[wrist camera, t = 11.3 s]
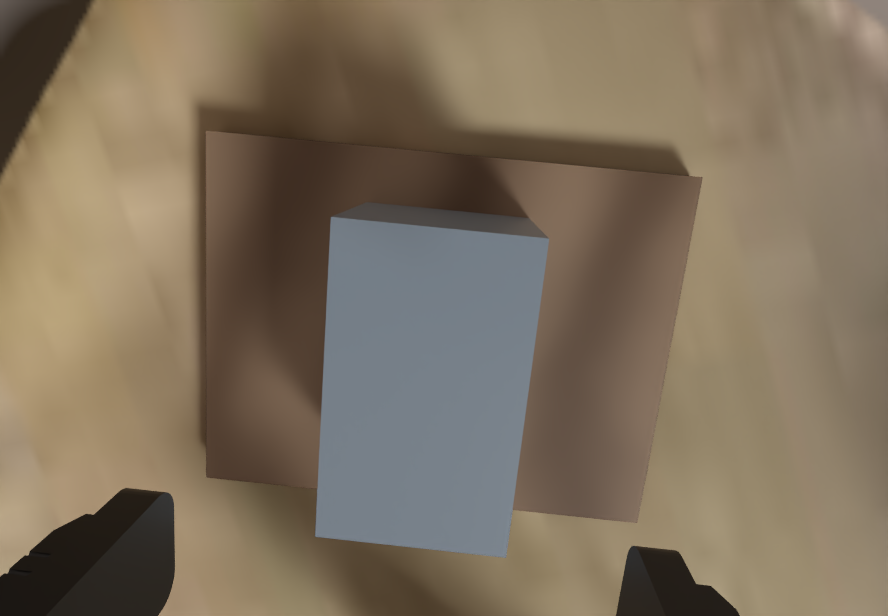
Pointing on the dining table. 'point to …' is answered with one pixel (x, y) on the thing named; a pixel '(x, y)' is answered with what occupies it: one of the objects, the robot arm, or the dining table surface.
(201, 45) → the dining table surface
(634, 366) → the plate
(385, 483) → the pale blue rectangular box
